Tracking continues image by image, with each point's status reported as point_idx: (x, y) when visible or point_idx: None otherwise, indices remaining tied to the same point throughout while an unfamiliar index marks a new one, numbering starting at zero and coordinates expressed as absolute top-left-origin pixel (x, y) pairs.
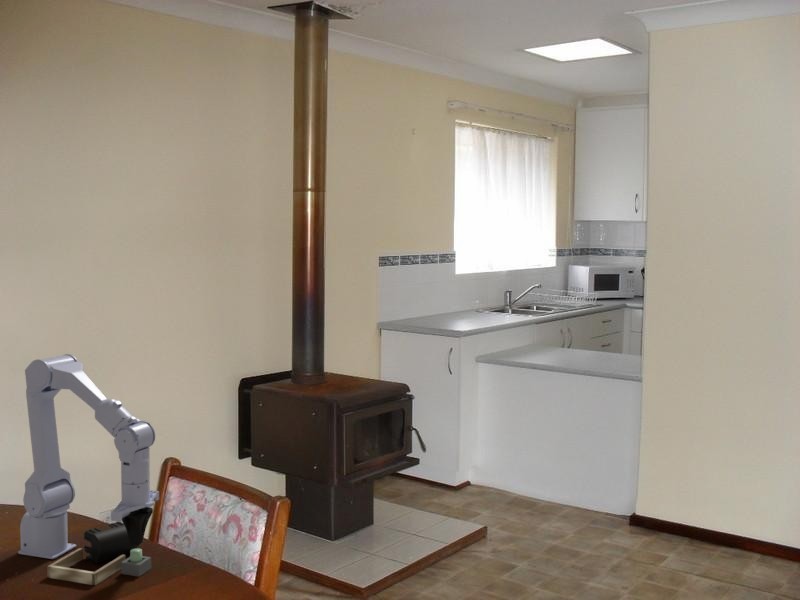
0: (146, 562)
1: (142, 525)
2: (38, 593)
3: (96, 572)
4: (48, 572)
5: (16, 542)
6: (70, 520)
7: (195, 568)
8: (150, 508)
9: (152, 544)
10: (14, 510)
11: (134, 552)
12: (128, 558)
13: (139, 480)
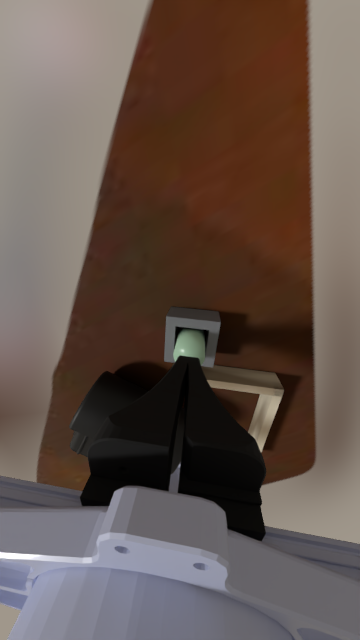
0: (188, 316)
1: (193, 397)
2: (315, 437)
3: (275, 391)
4: None
5: None
6: (54, 483)
7: (135, 194)
8: (104, 452)
9: (64, 356)
10: None
11: (202, 355)
12: None
13: None
